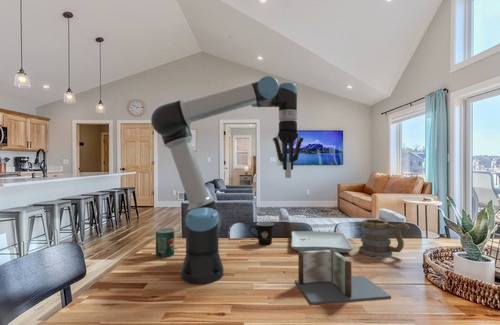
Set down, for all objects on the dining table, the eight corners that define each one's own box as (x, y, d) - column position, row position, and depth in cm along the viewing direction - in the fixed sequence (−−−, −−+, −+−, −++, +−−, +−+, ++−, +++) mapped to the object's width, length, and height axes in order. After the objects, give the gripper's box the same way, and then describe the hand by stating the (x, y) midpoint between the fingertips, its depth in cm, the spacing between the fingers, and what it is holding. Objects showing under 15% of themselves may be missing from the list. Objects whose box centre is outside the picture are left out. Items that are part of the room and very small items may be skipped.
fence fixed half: (299, 284, 90) (299, 252, 90) (297, 281, 92) (297, 250, 92) (337, 282, 92) (337, 250, 92) (334, 279, 94) (334, 248, 94)
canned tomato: (175, 256, 119) (175, 231, 119) (156, 259, 115) (156, 233, 115) (172, 251, 126) (172, 227, 126) (154, 253, 123) (154, 229, 123)
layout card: (311, 304, 79) (311, 301, 79) (295, 281, 93) (295, 279, 93) (390, 298, 82) (390, 295, 82) (363, 277, 97) (363, 275, 97)
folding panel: (332, 282, 91) (332, 251, 91) (337, 281, 91) (337, 251, 91) (346, 296, 81) (346, 262, 81) (352, 296, 81) (352, 262, 81)
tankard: (355, 252, 124) (355, 219, 124) (367, 246, 133) (367, 215, 133) (403, 263, 110) (403, 226, 110) (413, 256, 118) (413, 221, 118)
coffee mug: (276, 242, 139) (276, 223, 139) (268, 247, 131) (268, 226, 131) (256, 239, 145) (256, 220, 145) (248, 243, 138) (248, 223, 138)
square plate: (291, 237, 150) (291, 230, 150) (343, 239, 146) (343, 232, 146) (291, 253, 124) (291, 245, 124) (354, 256, 119) (354, 247, 119)
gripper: (274, 119, 110) (274, 178, 110) (306, 120, 111) (306, 178, 111) (270, 122, 117) (270, 177, 117) (300, 122, 119) (300, 177, 119)
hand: (288, 177), depth 114 cm, fingers closed
